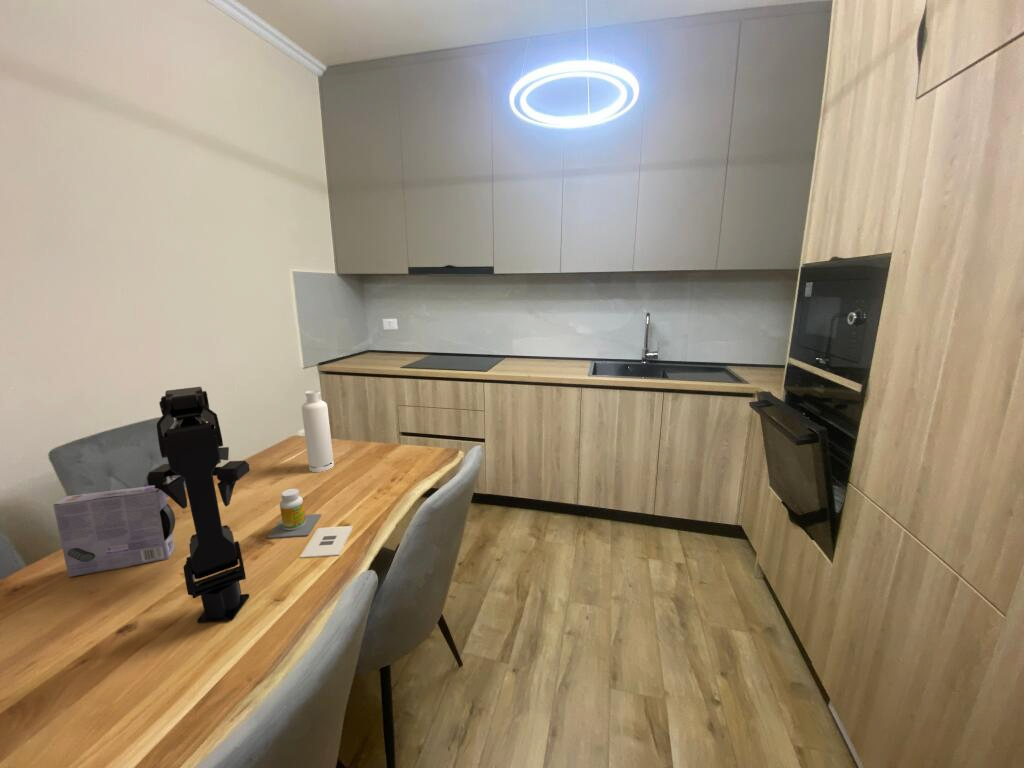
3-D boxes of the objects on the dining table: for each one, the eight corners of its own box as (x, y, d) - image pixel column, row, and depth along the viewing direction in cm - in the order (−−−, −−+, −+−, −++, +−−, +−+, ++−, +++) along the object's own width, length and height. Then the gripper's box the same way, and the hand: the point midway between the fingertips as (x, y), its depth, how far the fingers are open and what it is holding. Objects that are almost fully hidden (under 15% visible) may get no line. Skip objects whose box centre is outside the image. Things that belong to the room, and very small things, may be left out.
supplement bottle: (296, 532, 105) (291, 498, 103) (278, 529, 106) (273, 496, 104) (310, 520, 111) (306, 488, 108) (293, 518, 112) (288, 486, 109)
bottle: (311, 464, 147) (301, 389, 141) (335, 461, 150) (327, 388, 143) (307, 473, 140) (297, 395, 134) (332, 470, 142) (324, 393, 136)
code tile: (339, 555, 97) (339, 554, 97) (299, 558, 96) (299, 556, 96) (353, 526, 108) (353, 525, 108) (318, 529, 107) (317, 528, 107)
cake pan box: (182, 546, 100) (168, 481, 96) (174, 558, 96) (159, 490, 92) (81, 565, 94) (61, 495, 90) (67, 579, 89) (46, 506, 85)
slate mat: (307, 536, 104) (307, 534, 104) (266, 538, 103) (266, 537, 103) (321, 515, 114) (321, 513, 114) (284, 517, 113) (283, 516, 113)
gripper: (256, 429, 99) (265, 488, 102) (174, 432, 97) (186, 491, 101) (230, 446, 88) (241, 511, 92) (137, 450, 86) (152, 516, 90)
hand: (206, 506), depth 94 cm, fingers open, 9 cm apart
